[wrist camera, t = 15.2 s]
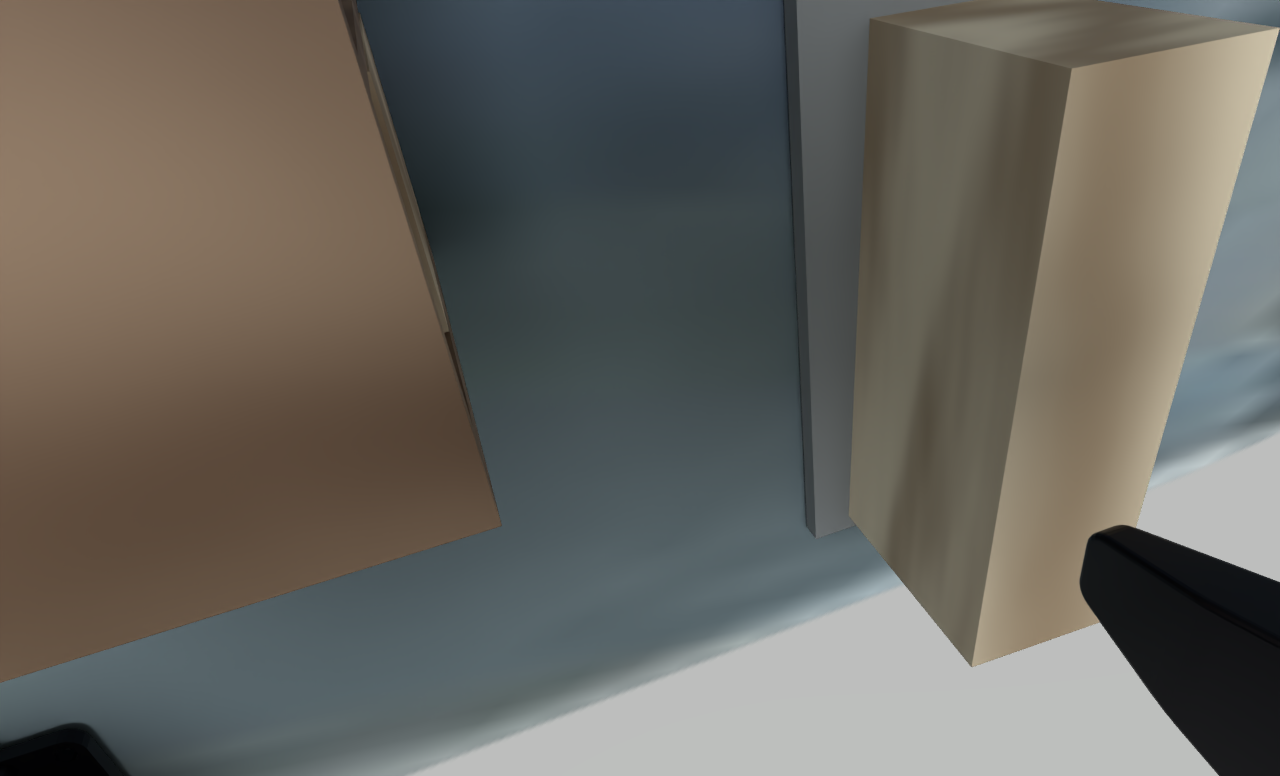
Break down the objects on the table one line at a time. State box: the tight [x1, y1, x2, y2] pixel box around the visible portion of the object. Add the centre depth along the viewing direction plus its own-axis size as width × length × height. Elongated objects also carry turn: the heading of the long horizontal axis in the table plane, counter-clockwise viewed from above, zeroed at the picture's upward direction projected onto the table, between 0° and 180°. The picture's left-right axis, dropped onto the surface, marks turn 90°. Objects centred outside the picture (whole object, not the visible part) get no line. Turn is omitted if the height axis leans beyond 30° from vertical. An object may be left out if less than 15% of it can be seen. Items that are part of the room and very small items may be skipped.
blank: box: [849, 0, 1280, 667], centre depth 20 cm, size 4×14×6 cm, turn 7°
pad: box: [784, 0, 973, 539], centre depth 22 cm, size 16×7×1 cm, turn 9°
